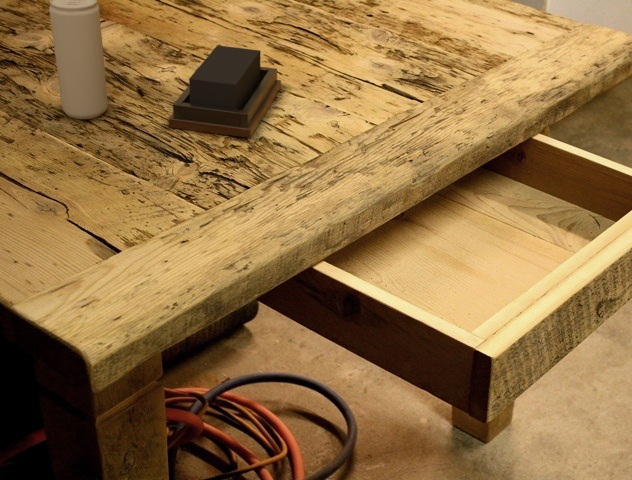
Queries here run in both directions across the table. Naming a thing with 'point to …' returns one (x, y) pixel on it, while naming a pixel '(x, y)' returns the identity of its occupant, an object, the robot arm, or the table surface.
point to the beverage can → (79, 57)
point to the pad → (226, 78)
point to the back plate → (227, 110)
